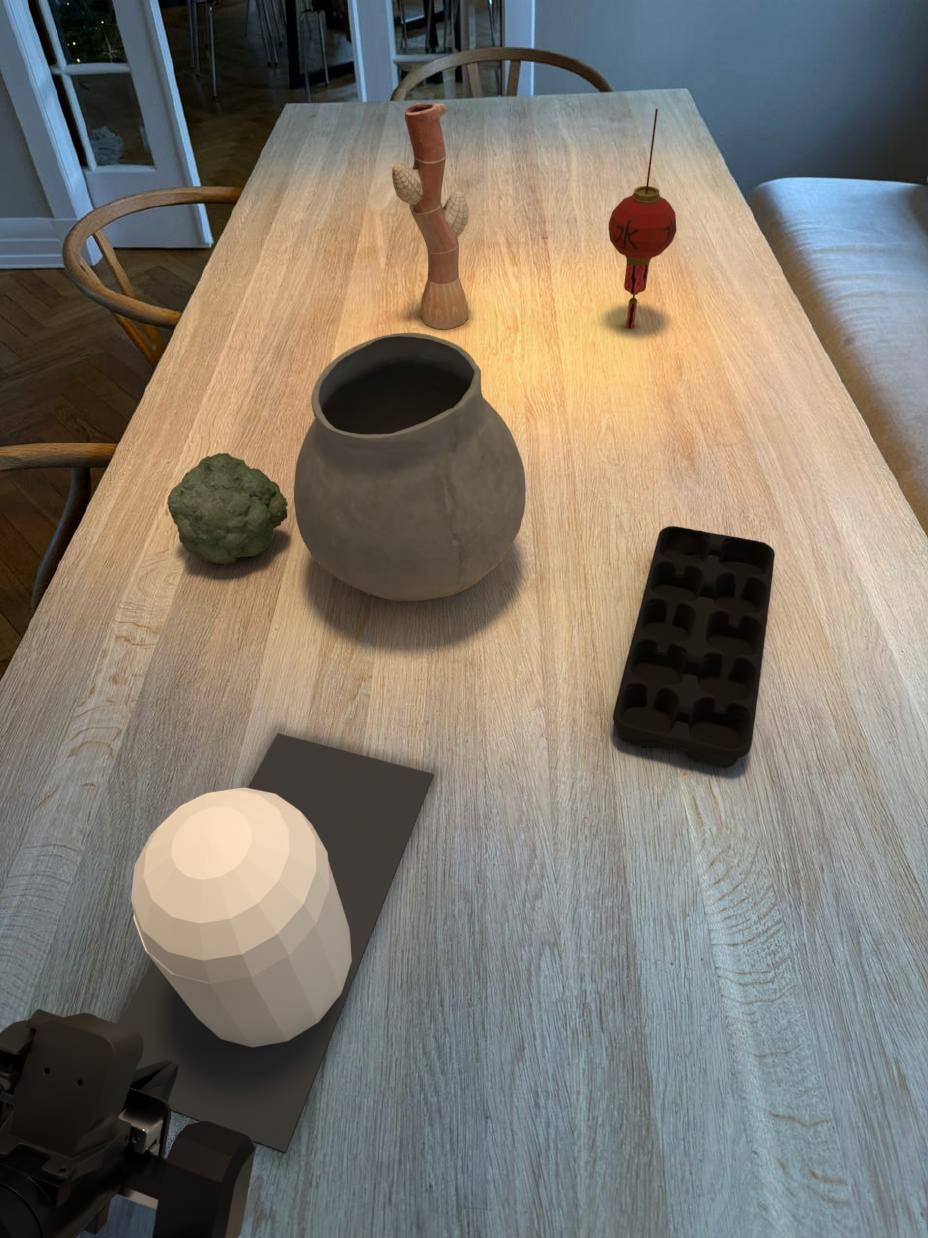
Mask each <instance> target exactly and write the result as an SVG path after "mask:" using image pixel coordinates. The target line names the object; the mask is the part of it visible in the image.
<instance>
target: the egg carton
mask: <svg viewBox="0 0 928 1238" xmlns="http://www.w3.org/2000/svg"><path fill="white" fill-rule="evenodd" d="M775 558H776V553H775V550H774V548H773V547H772V546H771V545H770V544H768V543H766V542H763V541H759V540H755V539H751V538H750V539H749V538H743V537H739V536H733V535H727V534H721V533H715V532H709V531H708V532H707V531H703V530H698V529H693V528H688V527H683V526H678V525H670V526H669V525H668V526H666V527H664V528H662V529H661V530H660V531H659V533H658V536H657V538H656V544H655V548H654V552H653V556H652V560H651V562H650V567H649V571H648V575H647V579H646V583H645V587H644V592H643V595H642V599H641V603H640V606H639V610H638V611H639V612H638V614H637V619H636V623H635V625H634V626H635V627H634V630H633V634H632V637H631V638H632V639H631V642H630V647H629V650H628V652H627V653H628V654H627V657H626V660H625V661H626V662H625V665H624V669H623V672H622V676H621V679H620V680H621V681H620V685H619V689H618V692H617V696H616V701H615V705H614V709H613V713H612V721H613V726H614V728H615V729H616V730H617V734H618V736H619V739H621V740H622V742H624V743H627V744H629V745H631V746H635V747H641V748H643V749H660V748H662V747H664V746H667V745H672V746H674V747H675V748H674V749H677V750H681V751H684V752H685V753H686V755H687V757H689V759H690V760H692V761H695V762H697V763H701V764H705V765H709V766H713V767H717V768H725V769H726V768H730V767H732V766H734V765H736V764H737V763H738V761H739V759H742V758H744V757H746V755H748V754H749V753H750V750H751V747H752V743H753V737H754V728H755V722H756V721H755V720H756V714H757V713H756V712H757V706H758V705H757V704H758V697H759V688H760V682H761V674H762V673H761V672H762V664H763V659H764V658H763V657H764V649H765V642H766V633H767V623H768V615H769V608H770V600H771V592H772V585H773V584H772V583H773V574H774V567H775Z"/></svg>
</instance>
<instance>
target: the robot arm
mask: <svg viewBox="0 0 928 1238" xmlns="http://www.w3.org/2000/svg"><path fill="white" fill-rule="evenodd" d="M143 1049H144V1042H143V1038H142V1036H141V1034H140V1033H139V1032H138V1031H137V1030H136V1029H133V1028H131V1027H128V1026H122V1025H119V1023H116V1022H112V1021H110V1020H107V1019H104V1018H101V1017H98V1016H97V1015H96V1014H93V1013H89V1012H80V1013H76V1014H70V1015H65V1016H60V1015H58V1014H55V1013H52V1012H50V1011H45V1010H43V1009H40V1008H39V1009H36V1010H35V1011H34V1012H33V1013H32V1015H31V1017H30V1018H28V1019H24V1020H18V1021H14V1022H12V1023H10V1024H9V1025H7V1027H5V1028H4V1029H3V1030H1V1031H0V1238H78V1237H79V1236H80V1235H81V1233H82V1232H85V1233H87V1234H90V1235H93V1236H97V1234H99V1233H100V1231H101V1230H102V1229H103V1228H104V1227H105V1226H106V1225H107V1223H108V1220H109V1213H110V1207H111V1201H113V1199H114V1197H116V1196H119V1197H121V1198H123V1199H126V1200H129V1201H131V1202H134V1203H135V1204H139V1205H142V1206H144V1207H147V1208H149V1209H151V1210H154V1211H155V1217H154V1223H153V1229H152V1234H151V1238H239V1237H240V1236H241V1234H242V1228H243V1223H244V1217H245V1211H246V1207H247V1206H246V1205H247V1200H248V1194H249V1188H250V1183H251V1177H252V1171H253V1167H254V1160H255V1154H256V1146H255V1144H254V1143H253V1140H251V1139H250V1138H249V1136H248V1135H245V1134H243V1133H240V1132H237V1131H234V1130H232V1129H229V1128H226V1127H223V1126H220V1125H218V1124H215V1123H212V1122H209V1121H198V1122H192V1123H187V1124H186V1125H185V1126H184V1127H183V1128H182V1129H181V1130H180V1132H178V1133H177V1134H176V1137H175V1139H174V1141H173V1143H172V1145H171V1147H170V1149H169V1151H168V1154H167V1156H166V1150H167V1144H168V1143H167V1142H168V1137H169V1131H170V1125H171V1119H172V1110H171V1108H170V1106H169V1104H168V1100H169V1097H170V1094H171V1091H172V1088H173V1086H174V1083H175V1080H176V1077H177V1071H178V1063H175V1062H172V1061H170V1060H165V1061H162V1062H159V1063H156V1064H153V1065H150V1066H147V1067H143V1068H140V1069H137V1070H136V1067H137V1065H138V1063H139V1061H140V1059H141V1057H142V1053H143ZM165 1156H166V1157H165Z"/></svg>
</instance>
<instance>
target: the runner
mask: <svg viewBox="0 0 928 1238" xmlns="http://www.w3.org/2000/svg"><path fill="white" fill-rule="evenodd" d="M434 775H435V774H434V773H432V772H428V771H424V770H421V769H416V768H413V767H409V766H405V765H402V764H397V763H395V762H389V761H385V760H382V759H378V758H375V757H370V756H366V755H362V754H359V753H356V752H351V751H349V750H343V749H340V748H337V747H333V746H328V745H324V744H321V743H317V742H313V741H309V740H305V739H301V738H298V737H294V736H290V735H286V734H282V733H277V734H276V735H275V737H274V739H273V741H272V742H271V744H270V746H269V748H268V749H267V752H266V754H265V755H264V757H263V759H262V761H261V762H260V764H259V766H258V768H257V770H256V772H255V774H254V775H253V777H252V779H251V781H250V783H249V784H248V787H247V788H249V789H254V790H259V791H264V792H269V793H274V794H276V795H278V796H279V797H281V798H282V799H284V800H285V801H286V802H288V803H289V804H291V805H292V806H294V807H295V808H296V809H298V810H299V811H301V813H302V814H303V815H304V816H305V817H306V818H307V820H308V821H309V822H310V823H311V824H312V826H313V827H314V829H315V831H316V833H317V835H318V836H319V838H320V840H321V842H322V844H323V846H324V847H325V849H326V851H327V853H328V862H329V865H330V868H331V871H332V875H333V878H334V881H335V884H336V887H337V891H338V894H339V897H340V900H341V903H342V907H343V910H344V913H345V916H346V919H347V923H348V926H349V929H350V942H351V956H352V962H351V965H350V968H349V971H348V974H347V977H346V980H345V984H344V987H343V990H342V993H341V995H340V996H339V997H338V998H337V1000H336V1001H335V1002H334V1003H333V1005H332V1006H331V1007H330V1008H329V1010H328V1011H327V1012H326V1013H325V1015H324V1016H323V1017H322V1019H321V1020H320V1021H319V1022H318V1023H316V1024H315V1025H313V1026H312V1027H310V1028H308V1029H307V1030H305V1031H303V1032H302V1033H300V1034H298V1035H297V1036H295V1037H294V1038H292V1039H290V1040H289V1041H286V1042H280V1043H275V1044H269V1045H263V1046H257V1047H249V1046H246V1045H242V1044H238V1043H234V1042H230V1041H227V1040H223V1039H220V1038H219V1037H218V1036H217V1035H216V1034H215V1033H213V1032H212V1031H211V1030H210V1029H209V1028H208V1027H207V1026H206V1025H204V1024H203V1023H202V1022H201V1021H200V1020H199V1019H198V1018H197V1017H196V1016H195V1015H194V1013H193V1012H192V1011H191V1009H190V1008H189V1007H188V1005H187V1004H186V1003H185V1002H184V1000H183V999H182V998H181V996H180V995H179V994H178V993H177V991H176V990H175V989H174V987H173V986H172V985H171V983H170V982H169V981H168V980H167V978H166V977H165V976H164V974H163V973H162V972H161V971H160V969H159V968H158V967H157V965H156V964H155V963H154V961H153V960H152V962H151V964H150V965H149V967H148V970H147V971H146V973H145V975H144V977H143V978H142V980H141V982H140V984H139V985H138V988H137V989H136V991H135V992H134V995H133V996H132V999H131V1001H130V1002H129V1004H128V1006H127V1007H126V1009H125V1011H124V1013H123V1015H122V1017H121V1019H120V1020H119V1022H118V1024H119V1025H122V1026H128V1027H131V1028H133V1029H136V1030H137V1031H138V1032H139V1033H140V1034H141V1036H142V1038H143V1042H144V1049H143V1053H142V1057H141V1059H140V1061H139V1063H138V1065H137V1067H136V1070H137V1069H140V1068H143V1067H147V1066H150V1065H153V1064H156V1063H159V1062H162V1061H165V1060H170V1061H172V1062H175V1063H178V1071H177V1077H176V1080H175V1083H174V1086H173V1088H172V1091H171V1094H170V1097H169V1100H168V1104H169V1106H170V1108H171V1111H174V1112H176V1113H179V1114H182V1115H184V1116H186V1117H189V1118H192V1119H195V1120H197V1121H199V1122H202V1121H209V1122H212V1123H215V1124H218V1125H220V1126H223V1127H226V1128H229V1129H232V1130H234V1131H237V1132H240V1133H243V1134H245V1135H248V1136H249V1138H250V1139H251V1141H252V1142H255V1143H258V1144H261V1145H263V1146H266V1147H269V1148H272V1149H273V1150H277V1151H280V1152H281V1153H284V1154H286V1153H287V1150H288V1148H289V1145H290V1143H291V1140H292V1138H293V1135H294V1133H295V1130H296V1128H297V1125H298V1122H299V1121H300V1117H301V1114H302V1112H303V1110H304V1107H305V1105H306V1102H307V1099H308V1098H309V1095H310V1092H311V1089H312V1087H313V1085H314V1081H315V1080H316V1076H317V1074H318V1071H319V1069H320V1066H321V1064H322V1061H323V1059H324V1056H325V1054H326V1052H327V1048H328V1046H329V1043H330V1041H331V1038H332V1036H333V1033H334V1030H335V1028H336V1026H337V1023H338V1020H339V1018H340V1015H341V1013H342V1011H343V1007H344V1005H345V1003H346V1001H347V998H348V995H349V993H350V989H351V987H352V985H353V982H354V979H355V977H356V975H357V972H358V970H359V966H360V964H361V962H362V960H363V957H364V954H365V951H366V949H367V947H368V945H369V942H370V939H371V936H372V934H373V931H374V928H375V926H376V923H377V921H378V918H379V916H380V913H381V911H382V908H383V905H384V903H385V900H386V898H387V896H388V893H389V890H390V887H391V885H392V883H393V881H394V878H395V875H396V873H397V870H398V867H399V866H400V862H401V859H402V858H403V854H404V852H405V850H406V847H407V844H408V841H409V839H410V837H411V834H412V831H413V829H414V826H415V824H416V822H417V819H418V817H419V815H420V811H421V809H422V806H423V803H424V801H425V798H426V796H427V793H428V790H429V788H430V785H431V783H432V781H433V778H434Z"/></svg>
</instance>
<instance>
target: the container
mask: <svg viewBox="0 0 928 1238" xmlns="http://www.w3.org/2000/svg"><path fill="white" fill-rule="evenodd" d="M130 901H131V905H132V909H133V910H132V911H133V916H132V918H133V921H134V924H135V927H136V929H137V933H138V935H139V937H140V940H141V944H142V946H143V948H144V952H145V953H146V954H147V955H148V956H149V958H150V959H151V960H152V962H153V961H154V963H155V964H156V965H157V967H158V968H159V969H160V971H161V972H162V973H163V974H164V976H165V977H166V978H167V980H168V981H169V982H170V983H171V985H172V986H173V987H174V989H175V990H176V991H177V993H178V994H179V995H180V996H181V998H182V999H183V1000H184V1002H185V1003H186V1004H187V1005H188V1007H189V1008H190V1009H191V1011H192V1012H193V1013H194V1015H195V1016H196V1017H197V1018H198V1019H199V1020H200V1021H201V1022H202V1023H203V1024H204V1025H206V1026H207V1027H208V1028H209V1029H210V1030H211V1031H212V1032H213V1033H215V1034H216V1035H217V1036H218V1037H219V1038H220V1039H223V1040H227V1041H230V1042H234V1043H238V1044H242V1045H246V1046H249V1047H257V1046H263V1045H269V1044H275V1043H280V1042H286V1041H289V1040H290V1039H292V1038H294V1037H295V1036H297V1035H298V1034H300V1033H302V1032H303V1031H305V1030H307V1029H308V1028H310V1027H312V1026H313V1025H315V1024H316V1023H318V1022H319V1021H320V1020H321V1019H322V1017H323V1016H324V1015H325V1013H326V1012H327V1011H328V1010H329V1008H330V1007H331V1006H332V1005H333V1003H334V1002H335V1001H336V1000H337V998H338V997H339V996H340V995H341V993H342V990H343V987H344V984H345V980H346V977H347V974H348V971H349V968H350V965H351V962H352V956H351V942H350V929H349V926H348V923H347V919H346V916H345V913H344V910H343V907H342V903H341V900H340V897H339V894H338V891H337V887H336V884H335V881H334V878H333V875H332V871H331V868H330V865H329V862H328V853H327V851H326V849H325V847H324V846H323V844H322V842H321V840H320V838H319V836H318V835H317V833H316V831H315V829H314V827H313V826H312V824H311V823H310V822H309V821H308V820H307V818H306V817H305V816H304V815H303V814H302V813H301V811H299V810H298V809H296V808H295V807H294V806H292V805H291V804H289V803H288V802H286V801H285V800H284V799H282V798H281V797H279V796H278V795H276V794H274V793H269V792H264V791H259V790H254V789H249V788H248V787H238V788H232V789H224V790H217V791H212V792H206V793H204V794H202V795H199V796H197V797H195V798H193V799H191V800H189V801H187V802H185V803H184V804H181V805H180V806H178V807H177V808H176V809H175V810H174V811H173V812H172V813H171V814H170V815H169V816H168V817H167V818H166V819H164V820H163V822H161V824H159V825H158V826H157V828H155V829H154V830H153V831H152V833H150V835H149V837H148V839H147V841H146V843H145V845H144V847H143V848H142V850H141V852H140V855H138V858H137V860H136V862H135V864H134V868H133V877H132V886H131V897H130Z"/></svg>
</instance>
